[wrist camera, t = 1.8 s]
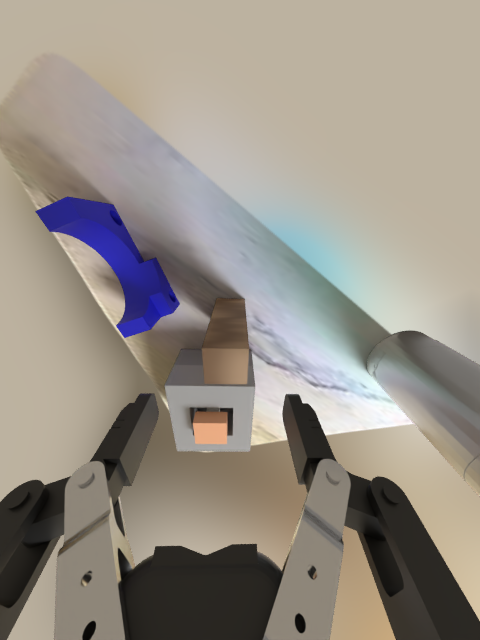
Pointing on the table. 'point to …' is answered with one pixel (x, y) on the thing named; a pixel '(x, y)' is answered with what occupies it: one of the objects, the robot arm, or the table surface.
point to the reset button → (210, 427)
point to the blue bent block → (116, 259)
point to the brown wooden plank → (226, 344)
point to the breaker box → (208, 403)
